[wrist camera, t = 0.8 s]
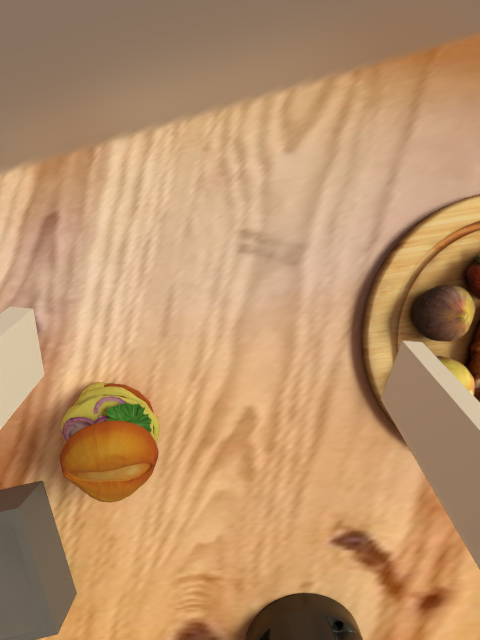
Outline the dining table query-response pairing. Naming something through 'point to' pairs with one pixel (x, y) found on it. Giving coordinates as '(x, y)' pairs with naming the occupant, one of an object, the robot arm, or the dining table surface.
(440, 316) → the wooden plate with food
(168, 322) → the dining table surface
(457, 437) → the robot arm
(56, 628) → the tray
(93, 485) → the cheeseburger
